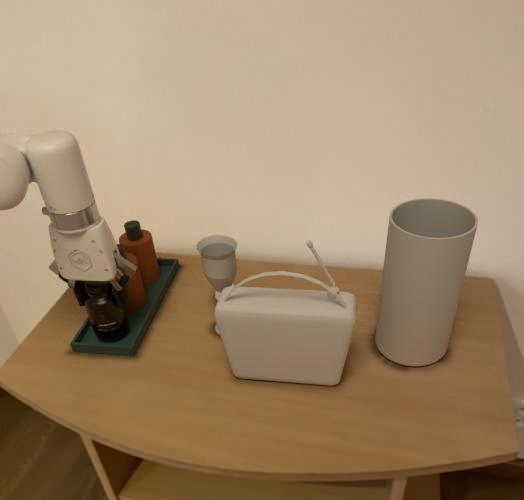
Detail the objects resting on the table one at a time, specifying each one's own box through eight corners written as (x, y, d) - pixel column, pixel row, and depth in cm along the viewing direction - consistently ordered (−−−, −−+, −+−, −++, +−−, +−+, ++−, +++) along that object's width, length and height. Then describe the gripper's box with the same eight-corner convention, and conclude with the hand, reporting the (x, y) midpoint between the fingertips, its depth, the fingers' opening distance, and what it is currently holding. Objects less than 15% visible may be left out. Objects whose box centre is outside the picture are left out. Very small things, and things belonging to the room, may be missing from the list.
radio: (352, 356, 90) (362, 229, 73) (350, 390, 84) (360, 260, 67) (232, 347, 94) (215, 225, 77) (222, 379, 88) (201, 254, 71)
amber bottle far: (123, 281, 112) (107, 227, 103) (144, 266, 116) (131, 213, 107) (146, 289, 109) (132, 235, 100) (167, 273, 113) (155, 220, 104)
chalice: (202, 329, 98) (187, 247, 86) (226, 311, 102) (215, 231, 90) (229, 343, 95) (218, 260, 83) (253, 325, 98) (246, 243, 86)
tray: (134, 356, 94) (131, 347, 92) (73, 352, 96) (69, 343, 94) (179, 266, 116) (178, 258, 114) (129, 264, 118) (127, 257, 116)
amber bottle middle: (107, 307, 105) (89, 252, 96) (130, 290, 109) (115, 236, 100) (131, 316, 102) (114, 261, 93) (154, 299, 106) (140, 244, 97)
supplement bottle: (109, 348, 95) (90, 296, 87) (88, 334, 98) (69, 282, 90) (138, 330, 98) (123, 278, 90) (118, 316, 102) (101, 265, 94)
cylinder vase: (382, 317, 98) (397, 194, 81) (449, 329, 94) (480, 203, 77) (368, 360, 89) (382, 232, 72) (442, 375, 85) (474, 244, 69)
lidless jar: (223, 307, 103) (243, 297, 105) (221, 295, 101) (242, 286, 103) (210, 295, 106) (231, 287, 108) (209, 284, 104) (229, 275, 106)
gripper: (13, 224, 80) (51, 313, 92) (116, 226, 78) (142, 318, 90) (36, 202, 86) (69, 289, 98) (133, 204, 83) (155, 293, 95)
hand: (104, 302), depth 93 cm, fingers closed on supplement bottle, 6 cm apart
